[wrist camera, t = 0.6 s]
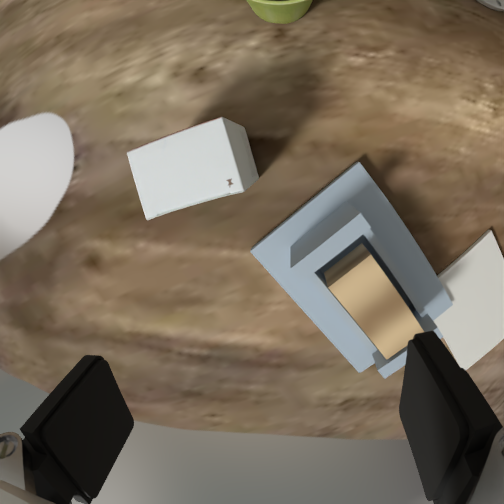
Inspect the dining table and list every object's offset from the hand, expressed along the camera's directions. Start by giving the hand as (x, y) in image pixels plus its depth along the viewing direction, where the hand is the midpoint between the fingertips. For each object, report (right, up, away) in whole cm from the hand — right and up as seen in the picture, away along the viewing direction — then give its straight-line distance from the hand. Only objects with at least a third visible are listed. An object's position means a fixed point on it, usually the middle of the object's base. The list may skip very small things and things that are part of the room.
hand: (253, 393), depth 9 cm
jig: (+12, +1, +25) cm, 27 cm away
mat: (+28, -3, +24) cm, 37 cm away
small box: (-4, +13, +23) cm, 27 cm away
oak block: (+12, 0, +21) cm, 24 cm away
